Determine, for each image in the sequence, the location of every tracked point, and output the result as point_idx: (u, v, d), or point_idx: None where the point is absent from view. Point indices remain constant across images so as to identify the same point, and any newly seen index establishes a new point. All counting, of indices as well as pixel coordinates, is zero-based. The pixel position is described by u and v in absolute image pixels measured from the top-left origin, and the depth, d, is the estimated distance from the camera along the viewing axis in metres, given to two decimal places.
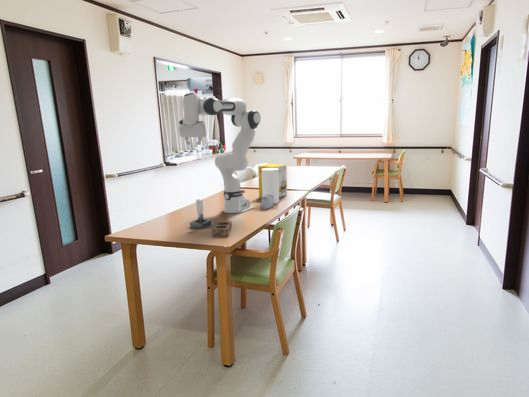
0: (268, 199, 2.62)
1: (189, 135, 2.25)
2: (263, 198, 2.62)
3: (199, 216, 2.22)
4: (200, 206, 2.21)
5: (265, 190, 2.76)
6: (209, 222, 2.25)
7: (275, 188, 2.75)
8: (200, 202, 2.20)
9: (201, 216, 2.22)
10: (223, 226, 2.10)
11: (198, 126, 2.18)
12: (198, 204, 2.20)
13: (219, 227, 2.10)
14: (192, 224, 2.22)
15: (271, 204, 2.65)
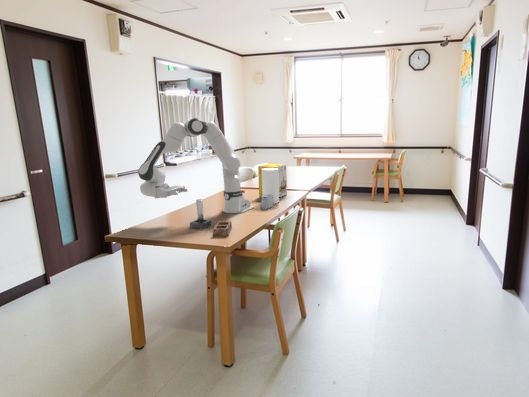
0: (268, 199, 2.62)
1: (173, 188, 2.27)
2: (263, 198, 2.62)
3: (199, 216, 2.22)
4: (200, 206, 2.21)
5: (265, 190, 2.76)
6: (209, 222, 2.25)
7: (275, 188, 2.75)
8: (200, 202, 2.20)
9: (201, 216, 2.22)
10: (223, 226, 2.10)
11: None
12: (198, 204, 2.20)
13: (219, 227, 2.10)
14: (192, 224, 2.22)
15: (271, 204, 2.65)
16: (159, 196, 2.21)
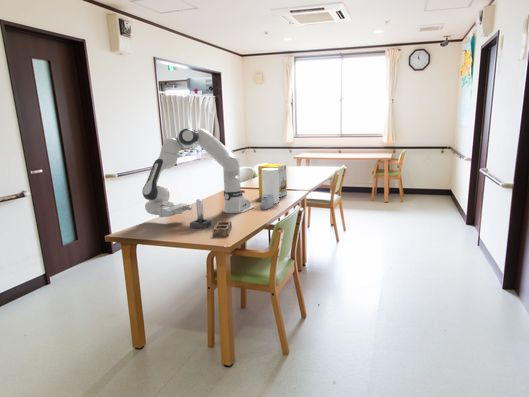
0: (268, 199, 2.62)
1: (178, 207, 2.28)
2: (263, 198, 2.62)
3: (199, 216, 2.22)
4: (200, 206, 2.21)
5: (265, 190, 2.76)
6: (209, 222, 2.25)
7: (275, 188, 2.75)
8: (200, 202, 2.20)
9: (201, 216, 2.22)
10: (223, 226, 2.10)
11: None
12: (198, 204, 2.20)
13: (219, 227, 2.10)
14: (192, 224, 2.22)
15: (271, 204, 2.65)
16: (164, 215, 2.22)
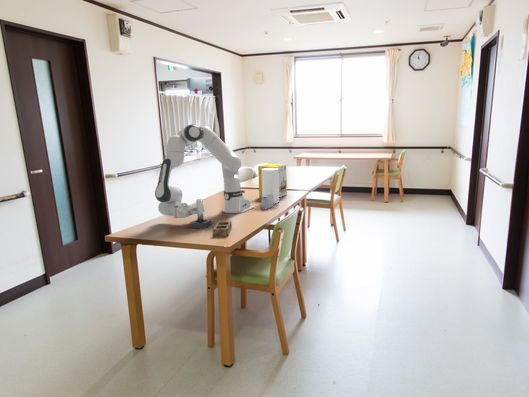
0: (268, 199, 2.62)
1: (192, 208, 2.24)
2: (263, 198, 2.62)
3: (199, 216, 2.22)
4: (200, 206, 2.21)
5: (265, 190, 2.76)
6: (209, 222, 2.25)
7: (275, 188, 2.75)
8: (200, 202, 2.20)
9: (201, 216, 2.22)
10: (223, 226, 2.10)
11: (193, 204, 2.33)
12: (198, 204, 2.20)
13: (219, 227, 2.10)
14: (192, 224, 2.22)
15: (271, 204, 2.65)
16: (178, 216, 2.18)
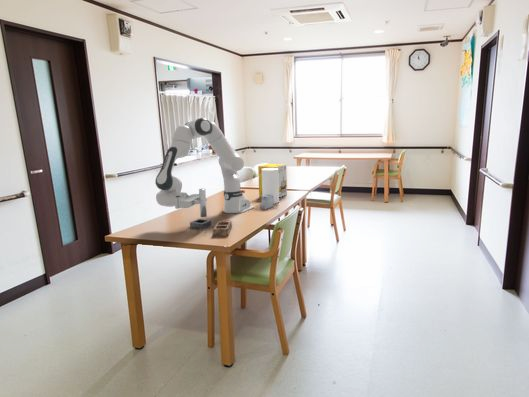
0: (268, 199, 2.62)
1: (194, 197, 2.16)
2: (263, 198, 2.62)
3: (202, 206, 2.15)
4: (203, 195, 2.14)
5: (265, 190, 2.76)
6: (209, 222, 2.25)
7: (275, 188, 2.75)
8: (203, 191, 2.13)
9: (204, 206, 2.15)
10: (223, 226, 2.10)
11: (193, 194, 2.25)
12: (201, 193, 2.13)
13: (219, 227, 2.10)
14: (192, 224, 2.22)
15: (271, 204, 2.65)
16: (181, 206, 2.09)
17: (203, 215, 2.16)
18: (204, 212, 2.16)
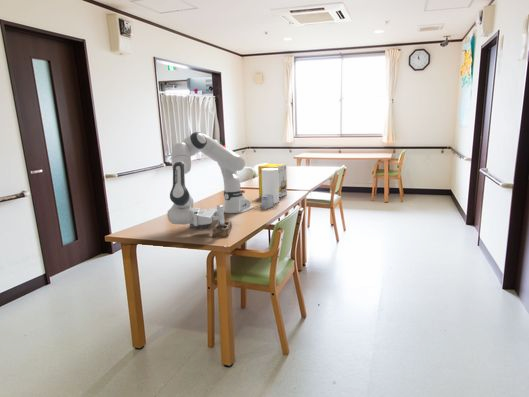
0: (268, 199, 2.62)
1: (212, 212, 2.05)
2: (263, 198, 2.62)
3: (221, 223, 2.05)
4: (222, 212, 2.05)
5: (265, 190, 2.76)
6: None
7: (275, 188, 2.75)
8: (222, 208, 2.04)
9: (223, 223, 2.06)
10: None
11: (205, 209, 2.13)
12: (220, 210, 2.04)
13: None
14: (192, 224, 2.22)
15: (271, 204, 2.65)
16: (202, 223, 1.97)
17: None
18: None
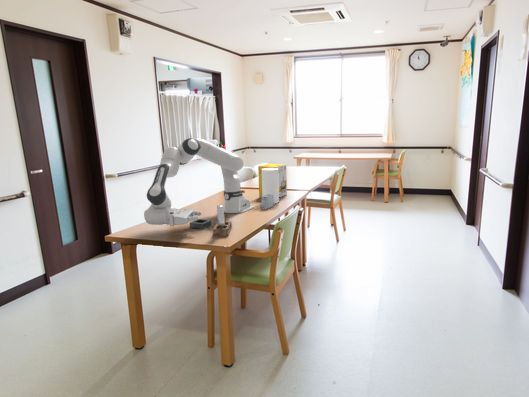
0: (268, 199, 2.62)
1: (188, 213, 2.05)
2: (263, 198, 2.62)
3: (221, 223, 2.05)
4: (222, 212, 2.04)
5: (265, 190, 2.76)
6: (209, 222, 2.25)
7: (275, 188, 2.75)
8: (222, 208, 2.04)
9: (223, 223, 2.06)
10: None
11: None
12: (220, 210, 2.04)
13: None
14: (192, 224, 2.22)
15: (271, 204, 2.65)
16: (178, 223, 1.98)
17: None
18: None
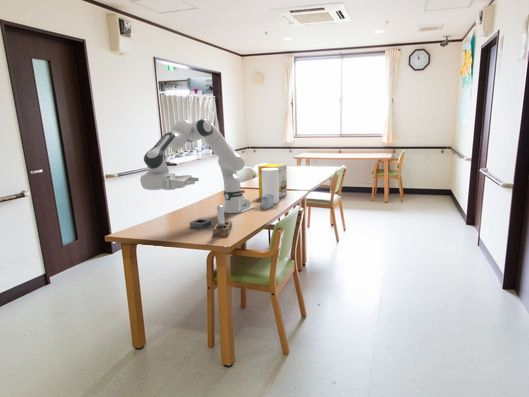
0: (268, 199, 2.62)
1: (185, 178, 2.01)
2: (263, 198, 2.62)
3: (221, 223, 2.05)
4: (222, 212, 2.04)
5: (265, 190, 2.76)
6: (209, 222, 2.25)
7: (275, 188, 2.75)
8: (222, 208, 2.04)
9: (223, 223, 2.06)
10: None
11: None
12: (220, 210, 2.04)
13: None
14: (192, 224, 2.22)
15: (271, 204, 2.65)
16: (175, 187, 1.94)
17: None
18: None
